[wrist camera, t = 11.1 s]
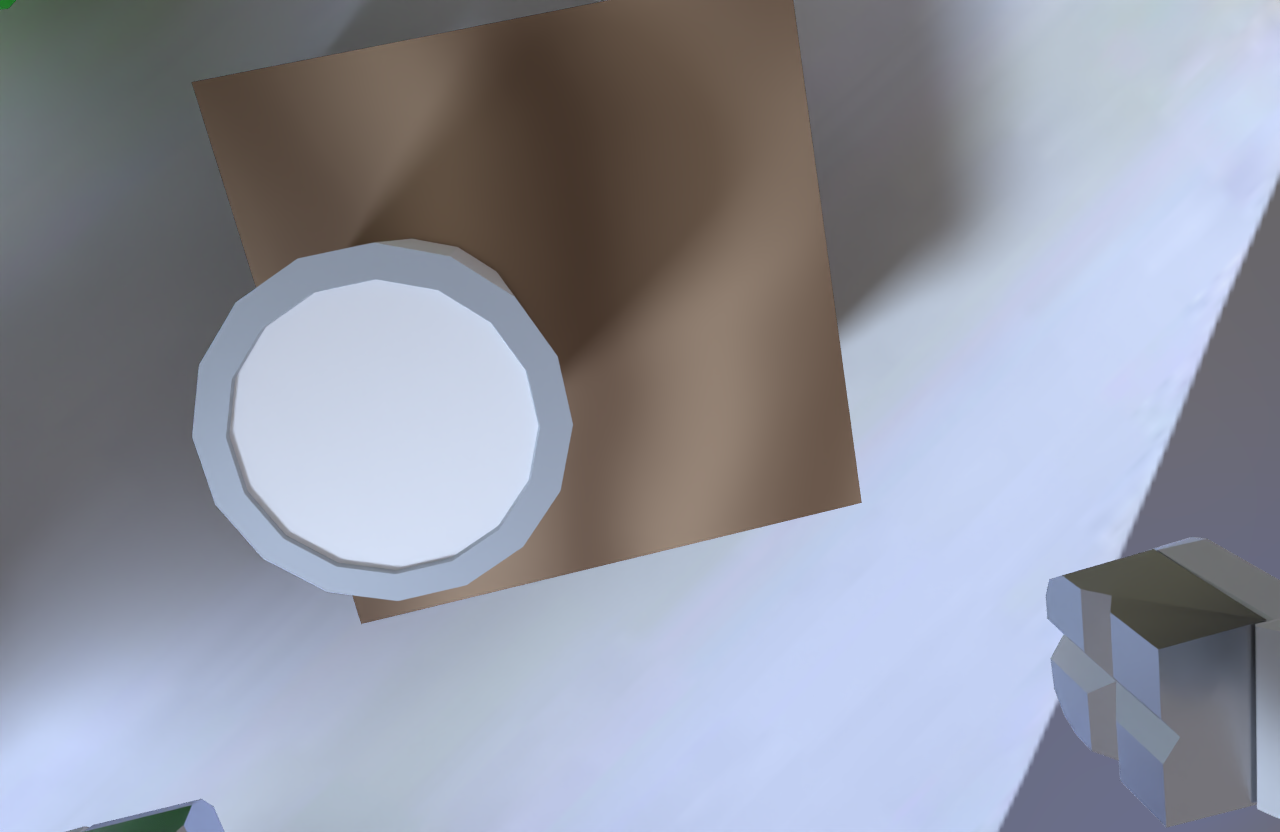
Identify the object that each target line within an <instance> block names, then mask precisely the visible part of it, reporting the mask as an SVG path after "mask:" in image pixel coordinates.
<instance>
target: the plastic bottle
mask: <svg viewBox="0 0 1280 832" xmlns="http://www.w3.org/2000/svg"><path fill="white" fill-rule="evenodd" d="M15 1H16V0H0V9H8V8H10V6H11V5H12V4H13V3H14V2H15Z"/></svg>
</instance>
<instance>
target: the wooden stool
mask: <svg viewBox="0 0 1280 832" xmlns="http://www.w3.org/2000/svg"><path fill="white" fill-rule="evenodd" d="M192 85H193V88H194V91H195V95H196V98H197V101H198V104H199V107H200V111H201V114H202V117H203V120H204V123H205V127H206V130H207V133H208V136H209V139H210V143H211V146H212V149H213V152H214V155H215V158H216V162H217V165H218V168H219V171H220V174H221V178H222V181H223V184H224V187H225V190H226V194H227V197H228V200H229V203H230V206H231V210H232V213H233V216H234V219H235V222H236V226H237V229H238V232H239V235H240V238H241V241H242V245H243V248H244V251H245V254H246V257H247V261H248V264H249V267H250V270H251V273H252V277H253V280H254V283H255V286H256V287H258V286H259V285H261V284H262V283H264V282H265V281H266V280H268V279H269V278H271V277H272V276H274V275H275V274H276V273H278V272H279V271H281V270H282V269H283V268H285V267H286V266H288V265H289V264H291V263H292V262H293V261H295V260H296V259H298V258H302V257H307V256H312V255H317V254H321V253H326V252H331V251H336V250H340V249H345V248H350V247H355V246H359V245H364V244H369V243H374V242H383V241H393V240H403V239H417V240H422V241H428V242H433V243H439V244H444V245H450V246H455V247H459V248H460V249H462V250H463V251H465V252H466V253H468V254H470V255H471V256H473V257H474V258H476V259H478V260H479V261H481V262H482V263H484V264H485V265H487V266H489V267H490V268H492V269H493V270H495V271H496V272H497V273H498V274H499V276H500V277H501V278H502V280H503V281H504V282H505V284H506V285H507V287H508V288H509V289H510V291H511V292H512V294H513V295H514V296H515V298H516V299H517V300H518V302H519V303H520V305H521V306H522V307H523V309H524V310H525V312H526V313H527V314H528V316H529V317H530V319H531V320H532V321H533V323H534V324H535V326H536V327H537V328H538V330H539V331H540V333H541V334H542V335H543V337H544V338H545V340H546V341H547V342H548V344H549V345H550V346H551V348H552V349H553V351H554V352H555V353H556V355H557V356H558V360H559V365H560V369H561V374H562V378H563V382H564V387H565V391H566V396H567V400H568V405H569V409H570V413H571V418H572V422H573V427H572V432H571V438H570V443H569V448H568V454H567V459H566V464H565V470H564V475H563V480H562V486H561V491H560V492H559V494H558V495H557V497H556V498H555V500H554V501H553V503H552V504H551V506H550V507H549V509H548V510H547V512H546V513H545V515H544V516H543V518H542V519H541V521H540V522H539V524H538V525H537V527H536V528H535V530H534V531H533V533H532V534H531V536H530V537H529V539H528V540H527V542H526V543H525V545H524V546H523V547H522V548H521V549H519V550H518V551H516V552H515V553H513V554H512V555H510V556H509V557H507V558H506V559H504V560H503V561H501V562H500V563H499V564H497V565H496V566H494V567H493V568H491V569H490V570H488V571H487V572H485V573H484V574H482V575H481V576H479V577H478V578H476V579H475V580H473V581H472V582H470V583H469V584H467V585H465V586H461V587H457V588H452V589H448V590H444V591H439V592H435V593H431V594H426V595H422V596H418V597H414V598H409V599H405V600H401V601H394V600H386V599H378V598H370V597H362V596H354V595H352V596H353V599H354V602H355V605H356V609H357V612H358V615H359V618H360V621H361V624H363V623H367V622H371V621H375V620H379V619H383V618H388V617H392V616H396V615H400V614H404V613H408V612H412V611H417V610H421V609H425V608H429V607H433V606H437V605H441V604H445V603H450V602H454V601H458V600H462V599H466V598H470V597H474V596H478V595H483V594H487V593H491V592H495V591H499V590H503V589H507V588H511V587H516V586H520V585H524V584H528V583H532V582H536V581H540V580H544V579H549V578H553V577H557V576H561V575H565V574H569V573H573V572H578V571H582V570H586V569H590V568H594V567H598V566H602V565H606V564H611V563H615V562H619V561H623V560H627V559H631V558H635V557H639V556H644V555H648V554H652V553H656V552H660V551H664V550H668V549H672V548H677V547H681V546H685V545H689V544H693V543H697V542H701V541H706V540H710V539H714V538H718V537H722V536H726V535H730V534H734V533H739V532H743V531H747V530H751V529H755V528H759V527H763V526H767V525H772V524H776V523H780V522H784V521H788V520H792V519H796V518H800V517H805V516H809V515H813V514H817V513H821V512H825V511H829V510H834V509H838V508H842V507H846V506H850V505H854V504H858V503H862V502H861V495H860V488H859V480H858V473H857V465H856V458H855V451H854V443H853V436H852V429H851V421H850V414H849V407H848V399H847V392H846V385H845V377H844V370H843V363H842V355H841V348H840V341H839V333H838V326H837V319H836V311H835V304H834V297H833V289H832V282H831V275H830V267H829V260H828V253H827V245H826V238H825V231H824V223H823V216H822V208H821V201H820V194H819V186H818V179H817V172H816V164H815V157H814V150H813V142H812V135H811V128H810V120H809V113H808V106H807V98H806V91H805V84H804V76H803V69H802V62H801V54H800V47H799V40H798V32H797V25H796V18H795V10H794V3H793V0H608V1H603V2H597V3H592V4H587V5H582V6H577V7H572V8H567V9H562V10H557V11H552V12H546V13H541V14H536V15H531V16H526V17H521V18H516V19H511V20H506V21H501V22H496V23H490V24H485V25H480V26H475V27H470V28H465V29H460V30H455V31H450V32H445V33H440V34H434V35H429V36H424V37H419V38H414V39H409V40H404V41H399V42H394V43H389V44H383V45H378V46H373V47H368V48H363V49H358V50H353V51H348V52H343V53H338V54H333V55H327V56H322V57H317V58H312V59H307V60H302V61H297V62H292V63H287V64H282V65H277V66H271V67H266V68H261V69H256V70H251V71H246V72H241V73H236V74H231V75H226V76H220V77H215V78H210V79H205V80H200V81H195V82H192Z"/></svg>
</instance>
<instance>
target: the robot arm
mask: <svg viewBox="0 0 1280 832" xmlns="http://www.w3.org/2000/svg"><path fill="white" fill-rule="evenodd" d="M1046 606H1047V619H1048V620H1049V621H1050V622H1051V623H1053V624H1054V625H1055V626H1056V627H1057V628H1058V629H1059V630H1060V631H1061V632H1062V633H1063V634H1064V635H1063V637H1062V638H1061V640H1060V642H1059V644H1058V646H1057V648H1056V649H1055V651H1054V653H1053V655H1052V657H1051V666H1052V674H1053V682H1054V689H1055V692H1056V695H1057V697H1058V700H1059V703H1060V705H1061V708H1062V711H1063V713H1064V716H1065V718H1066V719H1067V721H1068V722H1069V724H1070V726H1071V727H1072V729H1073V730H1074V732H1075V733H1076V735H1077V736H1078V737H1079V738H1080V739H1081V740H1082V741H1083V742H1084V743H1085V744H1086V746H1087V747H1088V748H1089V749H1090V750H1091V751H1092V752H1095V753H1098V754H1101V755H1104V756H1107V757H1110V758H1113V759H1115V760H1118V761H1119V769H1120V781H1121V782H1122V783H1123V784H1124V785H1125V786H1126V787H1127V788H1128V789H1129V790H1130V791H1131V792H1132V793H1133V794H1134V795H1135V796H1136V797H1137V798H1138V799H1139V800H1140V801H1141V802H1142V803H1143V804H1144V805H1145V806H1146V807H1147V808H1148V809H1149V810H1150V811H1151V812H1152V813H1153V814H1154V815H1155V816H1156V817H1157V818H1158V819H1159V820H1160V822H1161V823H1162V824H1163V825H1164V826H1165V827H1170V826H1174V825H1178V824H1182V823H1185V822H1190V821H1194V820H1198V819H1201V818H1205V817H1209V816H1213V815H1217V814H1221V813H1225V812H1229V811H1233V810H1237V809H1241V808H1245V807H1248V806H1252V805H1256V804H1257V809H1259V810H1261V811H1263V812H1265V813H1268V814H1270V815H1272V816H1274V817H1277V818H1279V819H1280V580H1278V579H1276V578H1275V577H1273V576H1271V575H1269V574H1268V573H1266V572H1264V571H1262V570H1261V569H1259V568H1257V567H1255V566H1253V565H1252V564H1250V563H1248V562H1247V561H1245V560H1243V559H1241V558H1240V557H1238V556H1236V555H1234V554H1233V553H1231V552H1229V551H1227V550H1226V549H1224V548H1222V547H1220V546H1219V545H1217V544H1215V543H1213V542H1212V541H1210V540H1208V539H1205V538H1195V537H1190V538H1187V539H1184V540H1180V541H1177V542H1174V543H1170V544H1167V545H1164V546H1161V547H1158V548H1154V549H1151V550H1148V551H1145V552H1142V553H1138V554H1135V555H1132V556H1128V557H1125V558H1121V559H1117V560H1114V561H1111V562H1107V563H1104V564H1100V565H1097V566H1093V567H1090V568H1086V569H1083V570H1079V571H1076V572H1073V573H1069V574H1066V575H1062V576H1059V577H1056V578H1052V579H1049V583H1048V588H1047V592H1046ZM66 832H224V829H223V827H222V825H221V822H220V820H219V818H218V816H217V813H216V811H215V809H214V806H212V805H211V804H209V803H207V802H206V801H204V800H203V799H199V800H195V801H190V802H186V803H182V804H178V805H174V806H170V807H165V808H161V809H157V810H153V811H149V812H145V813H141V814H136V815H132V816H128V817H124V818H120V819H116V820H111V821H107V822H103V823H99V824H95V825H92V826H91V827H80V828H77V829H73V830H70V831H66Z"/></svg>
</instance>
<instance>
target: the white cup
mask: <svg viewBox="0 0 1280 832" xmlns="http://www.w3.org/2000/svg"><path fill="white" fill-rule="evenodd" d="M572 427H573V422H572V418H571V413H570V409H569V405H568V400H567V396H566V391H565V387H564V382H563V378H562V374H561V369H560V365H559V360H558V356H557V355H556V353H555V352H554V351H553V349H552V348H551V346H550V345H549V344H548V342H547V341H546V340H545V338H544V337H543V335H542V334H541V333H540V331H539V330H538V328H537V327H536V326H535V324H534V323H533V321H532V320H531V319H530V317H529V316H528V314H527V313H526V312H525V310H524V309H523V307H522V306H521V305H520V303H519V302H518V300H517V299H516V298H515V296H514V295H513V294H512V292H511V291H510V289H509V288H508V287H507V285H506V284H505V282H504V281H503V280H502V278H501V277H500V276H499V274H498V273H497V272H496V271H495V270H493V269H492V268H490V267H489V266H487V265H485V264H484V263H482V262H481V261H479V260H478V259H476V258H474V257H473V256H471V255H470V254H468V253H466V252H465V251H463V250H462V249H460V248H459V247H455V246H450V245H444V244H439V243H433V242H428V241H422V240H417V239H403V240H393V241H383V242H374V243H369V244H364V245H359V246H355V247H350V248H345V249H340V250H336V251H331V252H326V253H321V254H317V255H312V256H307V257H302V258H298V259H296V260H295V261H293V262H292V263H291V264H289V265H288V266H286V267H285V268H283V269H282V270H281V271H279V272H278V273H276V274H275V275H274V276H272V277H271V278H269V279H268V280H266V281H265V282H264V283H262V284H261V285H259V286H258V287H256V288H255V289H254V290H252V291H251V292H249V293H248V294H247V295H245V296H244V297H242V298H241V299H239V300H238V301H237V302H236V303H235V304H234V306H233V308H232V309H231V311H230V313H229V315H228V316H227V318H226V320H225V321H224V323H223V325H222V327H221V328H220V330H219V332H218V333H217V335H216V337H215V338H214V340H213V342H212V344H211V345H210V347H209V349H208V350H207V352H206V354H205V356H204V357H203V359H202V361H201V362H200V364H199V368H198V379H197V389H196V400H195V411H194V421H193V432H192V438H193V441H194V444H195V447H196V450H197V453H198V456H199V459H200V462H201V465H202V468H203V471H204V473H205V476H206V479H207V482H208V485H209V488H210V491H211V494H212V497H213V500H214V503H215V505H216V506H217V507H218V509H219V510H220V511H221V512H222V513H223V514H224V515H225V516H226V518H227V519H228V520H229V521H230V522H231V523H232V524H233V526H234V527H235V528H236V529H237V530H238V531H239V532H240V533H241V535H242V536H243V537H244V538H245V539H246V540H247V541H248V542H249V544H250V545H251V546H252V547H253V548H254V549H255V550H256V552H257V553H258V554H259V555H260V556H261V557H262V558H263V559H264V560H266V561H268V562H270V563H272V564H274V565H276V566H278V567H280V568H282V569H283V570H285V571H287V572H289V573H291V574H293V575H295V576H297V577H299V578H301V579H303V580H305V581H307V582H309V583H310V584H312V585H314V586H316V587H318V588H320V589H322V590H324V591H326V592H330V593H338V594H346V595H354V596H362V597H370V598H378V599H386V600H394V601H401V600H405V599H409V598H414V597H418V596H422V595H426V594H431V593H435V592H439V591H444V590H448V589H452V588H457V587H461V586H465V585H467V584H469V583H470V582H472V581H473V580H475V579H476V578H478V577H479V576H481V575H482V574H484V573H485V572H487V571H488V570H490V569H491V568H493V567H494V566H496V565H497V564H499V563H500V562H501V561H503V560H504V559H506V558H507V557H509V556H510V555H512V554H513V553H515V552H516V551H518V550H519V549H521V548H522V547H523V546H524V545H525V543H526V542H527V540H528V539H529V537H530V536H531V534H532V533H533V531H534V530H535V528H536V527H537V525H538V524H539V522H540V521H541V519H542V518H543V516H544V515H545V513H546V512H547V510H548V509H549V507H550V506H551V504H552V503H553V501H554V500H555V498H556V497H557V495H558V494H559V492H560V491H561V486H562V480H563V475H564V470H565V464H566V459H567V454H568V448H569V443H570V438H571V432H572Z"/></svg>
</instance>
